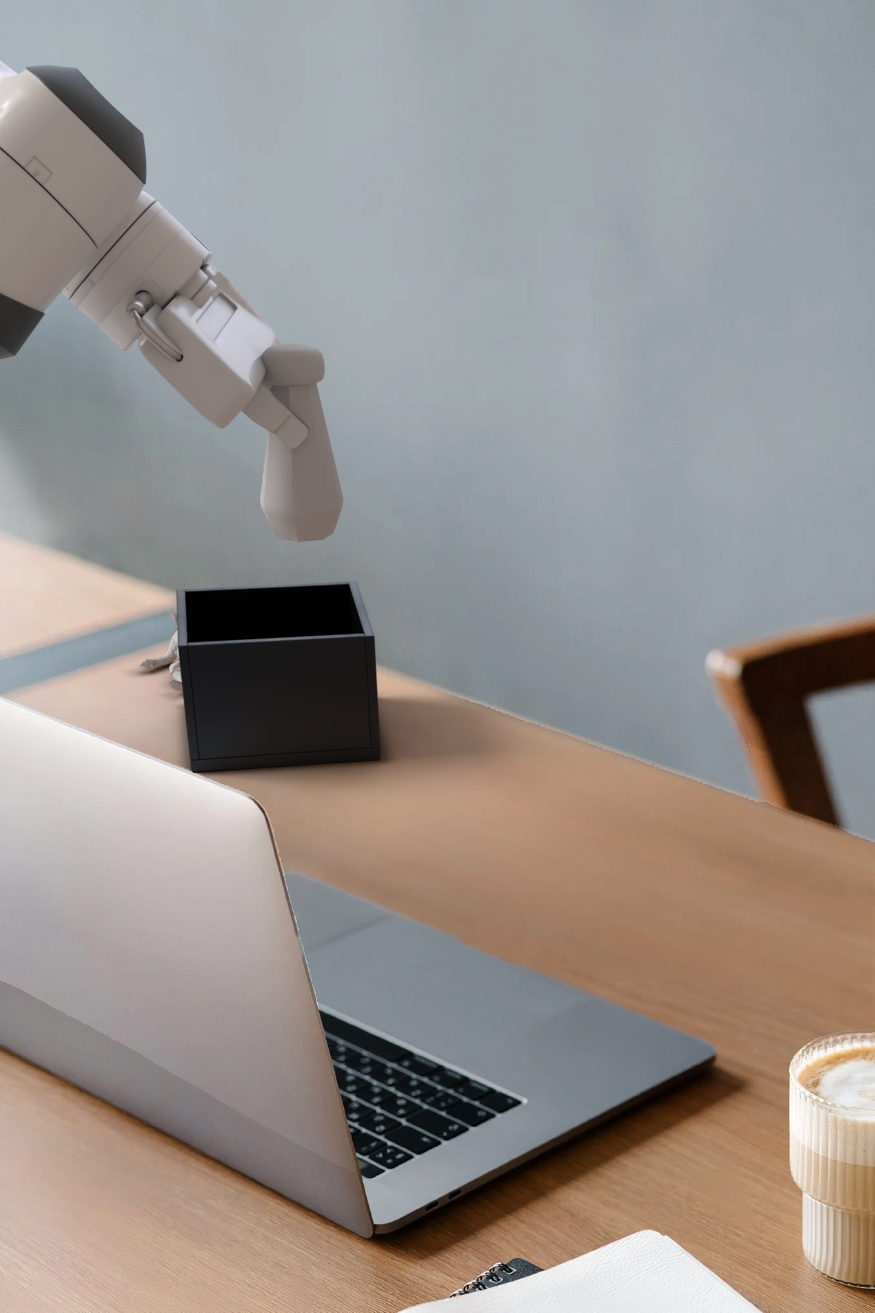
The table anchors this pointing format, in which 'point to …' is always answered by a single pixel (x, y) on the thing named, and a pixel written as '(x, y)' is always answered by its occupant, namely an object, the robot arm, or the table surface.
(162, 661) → the soldier figure
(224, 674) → the waste bin
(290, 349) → the salt shaker
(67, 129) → the robot arm
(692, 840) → the table surface
